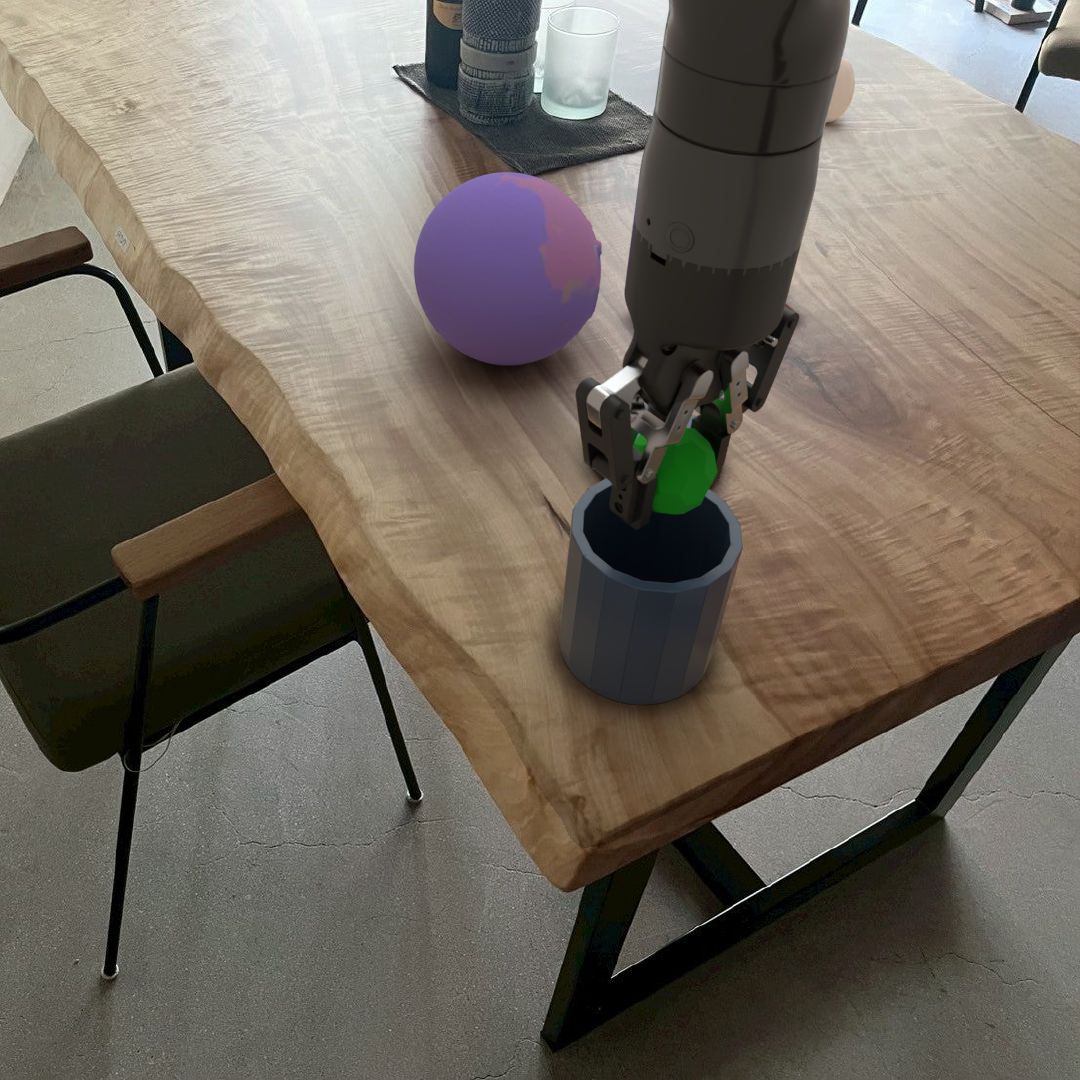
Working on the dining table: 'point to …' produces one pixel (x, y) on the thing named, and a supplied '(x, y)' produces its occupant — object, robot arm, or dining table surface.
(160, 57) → the dining table surface
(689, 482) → the polyhedron
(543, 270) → the decorative ball
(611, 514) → the pot
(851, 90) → the egg
